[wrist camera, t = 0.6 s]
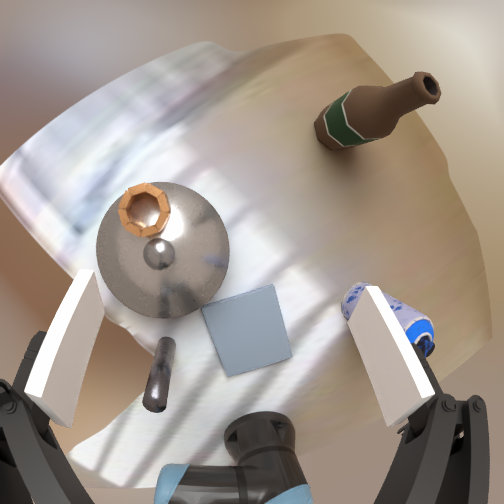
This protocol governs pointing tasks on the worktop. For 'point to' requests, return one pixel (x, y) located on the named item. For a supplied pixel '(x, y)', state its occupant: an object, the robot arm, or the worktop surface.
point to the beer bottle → (373, 111)
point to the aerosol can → (409, 319)
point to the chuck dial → (162, 250)
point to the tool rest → (248, 330)
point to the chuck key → (159, 376)
